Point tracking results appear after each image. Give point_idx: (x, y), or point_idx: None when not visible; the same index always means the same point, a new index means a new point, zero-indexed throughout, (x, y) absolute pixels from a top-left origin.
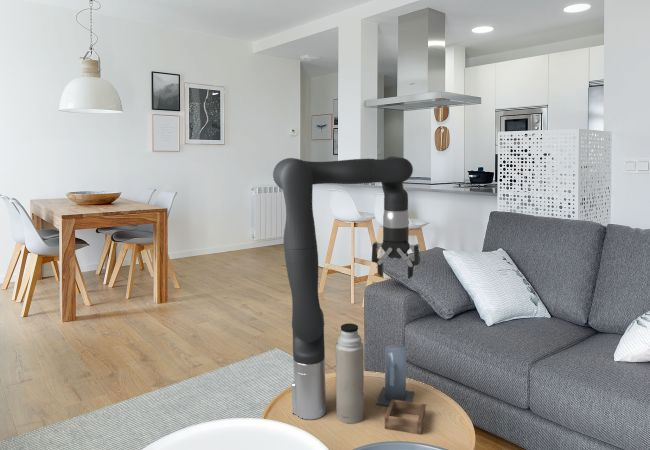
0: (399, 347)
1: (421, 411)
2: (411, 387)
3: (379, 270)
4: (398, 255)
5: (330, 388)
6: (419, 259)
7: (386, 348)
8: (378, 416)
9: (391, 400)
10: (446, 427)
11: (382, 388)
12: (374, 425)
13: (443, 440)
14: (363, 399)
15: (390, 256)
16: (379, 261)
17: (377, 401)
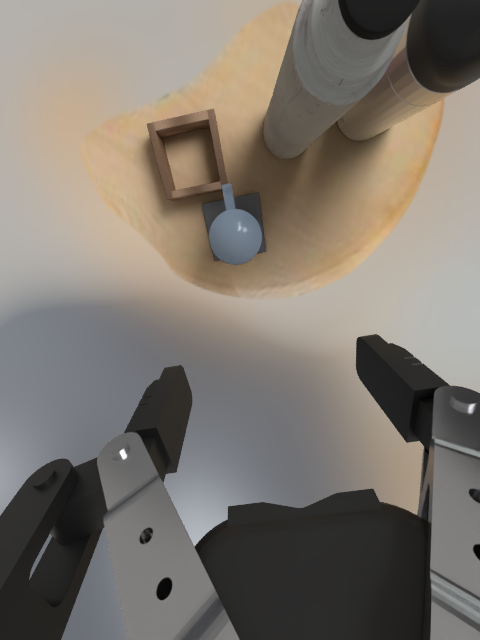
0: (229, 249)
1: (162, 168)
2: (225, 276)
3: (402, 361)
4: (252, 559)
5: (352, 209)
6: (44, 552)
7: (256, 228)
8: (240, 155)
9: (226, 181)
10: (127, 178)
11: (265, 246)
12: (236, 119)
13: (114, 132)
14: (268, 125)
15: (375, 514)
16: (476, 415)
17: (258, 199)
